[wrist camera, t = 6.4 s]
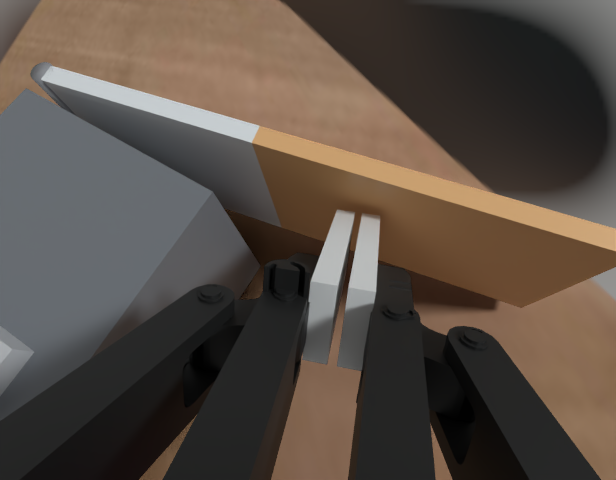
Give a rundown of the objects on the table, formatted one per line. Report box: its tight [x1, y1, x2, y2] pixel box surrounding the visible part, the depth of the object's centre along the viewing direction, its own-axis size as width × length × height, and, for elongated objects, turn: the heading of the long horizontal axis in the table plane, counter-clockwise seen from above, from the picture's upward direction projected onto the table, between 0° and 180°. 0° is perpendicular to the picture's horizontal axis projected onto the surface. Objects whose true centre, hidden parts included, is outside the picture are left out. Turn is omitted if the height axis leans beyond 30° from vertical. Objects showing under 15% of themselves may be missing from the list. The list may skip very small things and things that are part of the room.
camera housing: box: [0, 89, 260, 421], centre depth 19 cm, size 11×12×11 cm
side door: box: [31, 62, 616, 308], centre depth 20 cm, size 24×1×9 cm, turn 69°
